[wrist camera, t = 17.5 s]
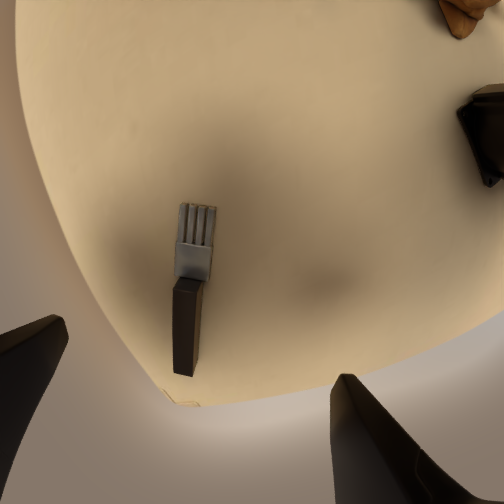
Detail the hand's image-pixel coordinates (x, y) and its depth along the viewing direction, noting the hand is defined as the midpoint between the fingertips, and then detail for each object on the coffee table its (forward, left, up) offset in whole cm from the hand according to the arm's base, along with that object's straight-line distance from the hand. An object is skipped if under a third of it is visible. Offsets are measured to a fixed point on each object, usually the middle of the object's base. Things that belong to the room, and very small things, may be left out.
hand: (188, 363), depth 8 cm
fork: (-2, +5, -11) cm, 12 cm away
